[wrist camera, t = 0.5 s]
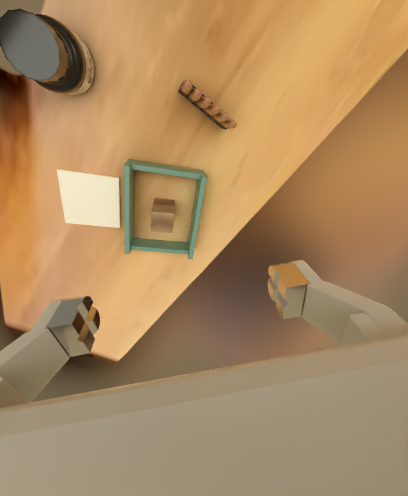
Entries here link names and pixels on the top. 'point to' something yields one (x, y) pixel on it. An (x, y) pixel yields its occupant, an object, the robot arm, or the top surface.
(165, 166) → the box
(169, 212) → the walnut block
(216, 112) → the ammunition clip
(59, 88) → the ink bottle
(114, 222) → the board
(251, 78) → the top surface
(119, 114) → the top surface
